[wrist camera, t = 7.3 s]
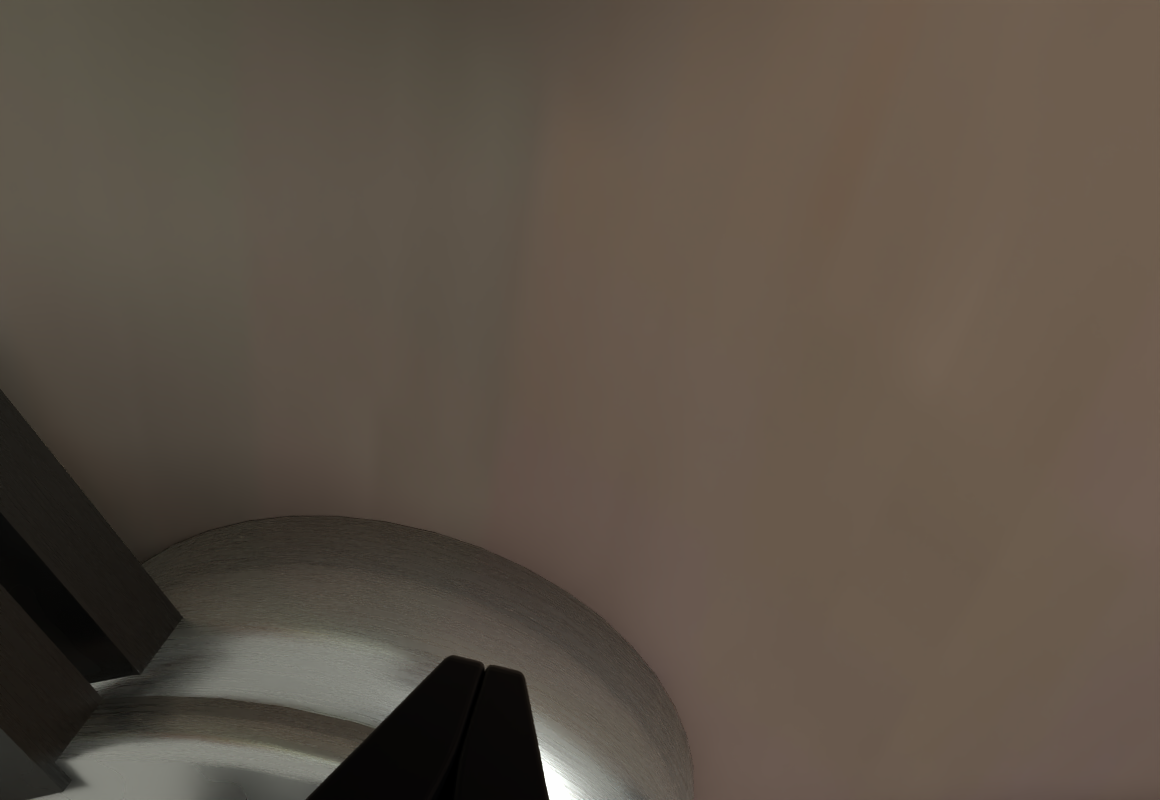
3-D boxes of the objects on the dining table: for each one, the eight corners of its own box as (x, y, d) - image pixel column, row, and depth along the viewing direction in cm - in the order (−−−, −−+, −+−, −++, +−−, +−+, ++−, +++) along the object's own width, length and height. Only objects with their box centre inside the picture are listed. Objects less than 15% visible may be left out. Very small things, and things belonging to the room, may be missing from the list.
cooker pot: (774, 906, 23) (797, 1134, 18) (292, 970, 27) (217, 1167, 23) (372, 102, 14) (226, 176, 9) (-257, 393, 18) (-559, 537, 14)
